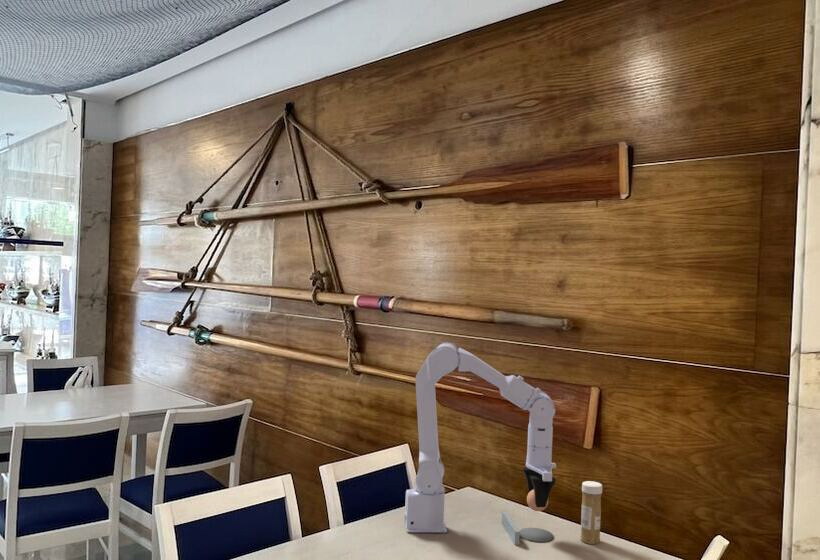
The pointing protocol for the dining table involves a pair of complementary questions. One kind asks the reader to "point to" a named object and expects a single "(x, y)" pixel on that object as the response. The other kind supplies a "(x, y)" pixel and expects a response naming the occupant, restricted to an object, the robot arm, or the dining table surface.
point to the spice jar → (591, 512)
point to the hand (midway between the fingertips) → (537, 502)
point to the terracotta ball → (532, 502)
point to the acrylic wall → (510, 528)
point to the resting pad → (536, 535)
